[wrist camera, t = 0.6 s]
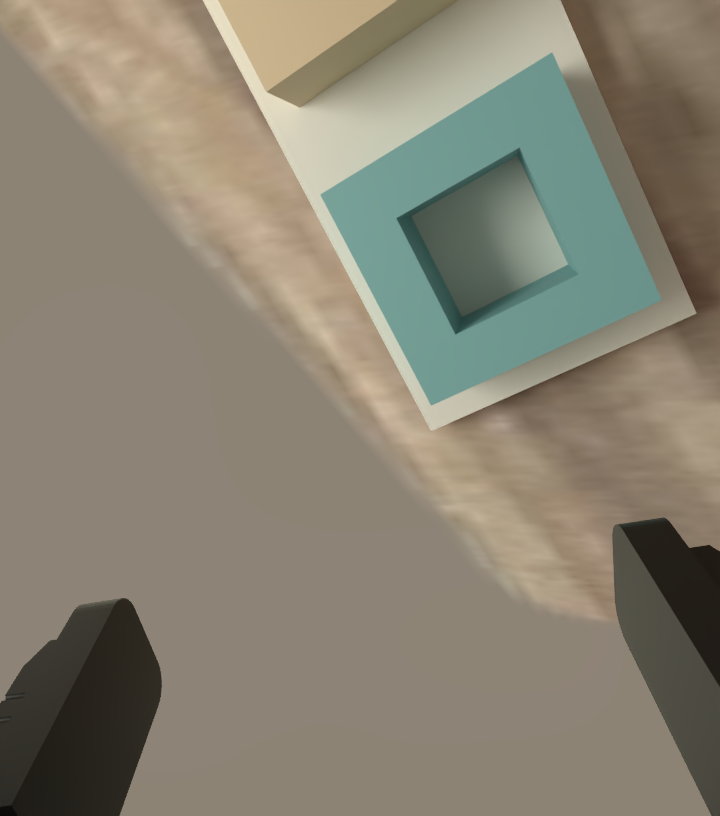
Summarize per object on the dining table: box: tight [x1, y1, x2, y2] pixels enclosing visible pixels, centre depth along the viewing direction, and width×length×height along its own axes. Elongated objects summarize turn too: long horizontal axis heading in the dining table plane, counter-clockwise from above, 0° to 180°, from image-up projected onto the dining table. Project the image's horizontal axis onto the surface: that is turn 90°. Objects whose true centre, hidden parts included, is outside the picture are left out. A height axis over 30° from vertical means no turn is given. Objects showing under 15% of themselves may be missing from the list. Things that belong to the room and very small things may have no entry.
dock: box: [203, 0, 697, 431], centre depth 25 cm, size 25×12×6 cm, turn 29°
